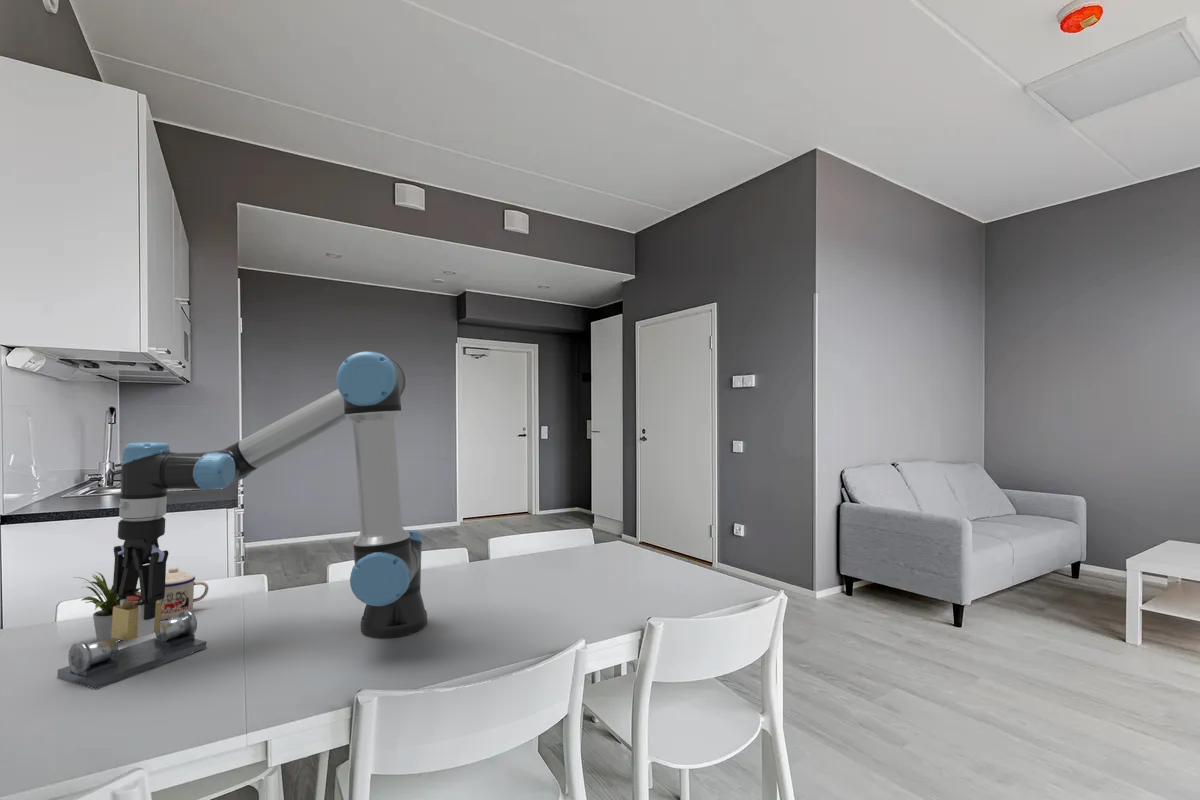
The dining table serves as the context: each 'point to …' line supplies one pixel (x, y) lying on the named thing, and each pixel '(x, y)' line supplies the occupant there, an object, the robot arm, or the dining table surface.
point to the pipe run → (131, 654)
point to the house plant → (103, 608)
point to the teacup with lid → (179, 593)
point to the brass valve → (131, 618)
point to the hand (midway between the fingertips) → (136, 632)
